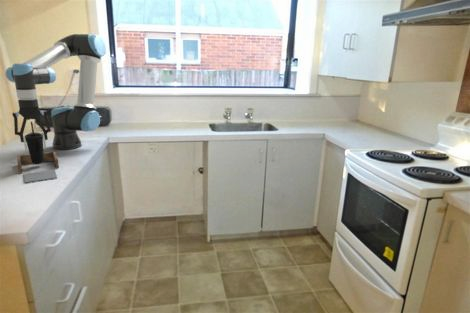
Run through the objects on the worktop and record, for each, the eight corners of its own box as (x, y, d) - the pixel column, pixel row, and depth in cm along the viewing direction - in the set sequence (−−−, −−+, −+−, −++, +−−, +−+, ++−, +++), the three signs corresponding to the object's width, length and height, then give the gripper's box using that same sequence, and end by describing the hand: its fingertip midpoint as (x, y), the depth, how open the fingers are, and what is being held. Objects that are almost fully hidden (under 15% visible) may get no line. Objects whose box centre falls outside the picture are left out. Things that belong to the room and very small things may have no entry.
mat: (54, 170, 152) (54, 169, 151) (57, 178, 142) (57, 177, 142) (24, 174, 145) (24, 173, 145) (24, 183, 136) (24, 182, 136)
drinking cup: (50, 160, 160) (44, 120, 154) (42, 165, 153) (35, 123, 147) (34, 160, 160) (27, 120, 154) (25, 165, 152) (17, 123, 146)
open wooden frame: (56, 159, 167) (54, 151, 166) (58, 168, 155) (57, 159, 154) (19, 164, 159) (17, 155, 158) (19, 173, 147) (17, 164, 145)
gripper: (52, 96, 155) (58, 143, 162) (1, 99, 145) (10, 148, 152) (53, 98, 149) (60, 146, 156) (0, 101, 139) (10, 152, 146)
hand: (35, 147), depth 154 cm, fingers closed on drinking cup, 7 cm apart
